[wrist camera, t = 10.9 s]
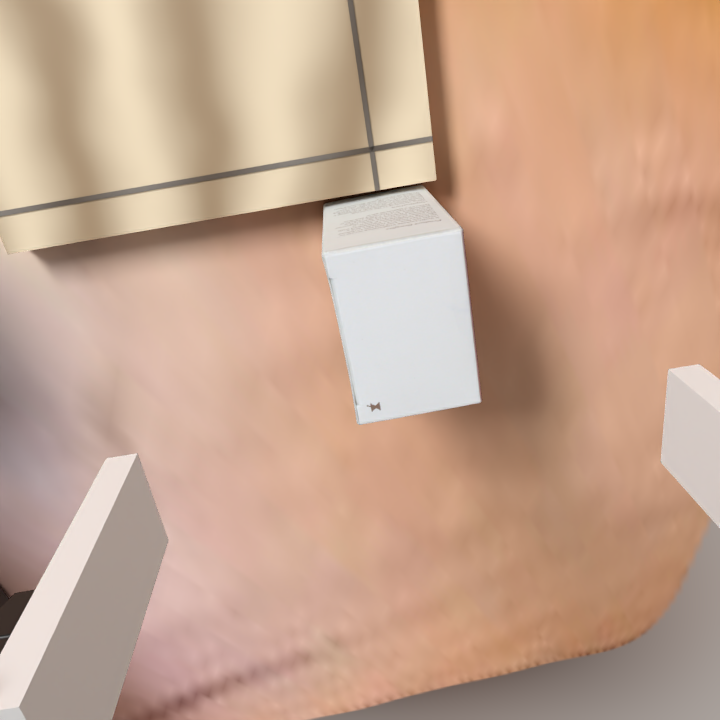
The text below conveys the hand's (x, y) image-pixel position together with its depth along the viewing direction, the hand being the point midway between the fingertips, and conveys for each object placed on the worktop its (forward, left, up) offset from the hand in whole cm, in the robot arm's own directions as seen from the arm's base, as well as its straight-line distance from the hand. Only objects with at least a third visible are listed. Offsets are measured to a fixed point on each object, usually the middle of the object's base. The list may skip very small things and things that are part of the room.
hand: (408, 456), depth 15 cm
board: (-7, +9, -20) cm, 23 cm away
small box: (+1, -1, -21) cm, 21 cm away
